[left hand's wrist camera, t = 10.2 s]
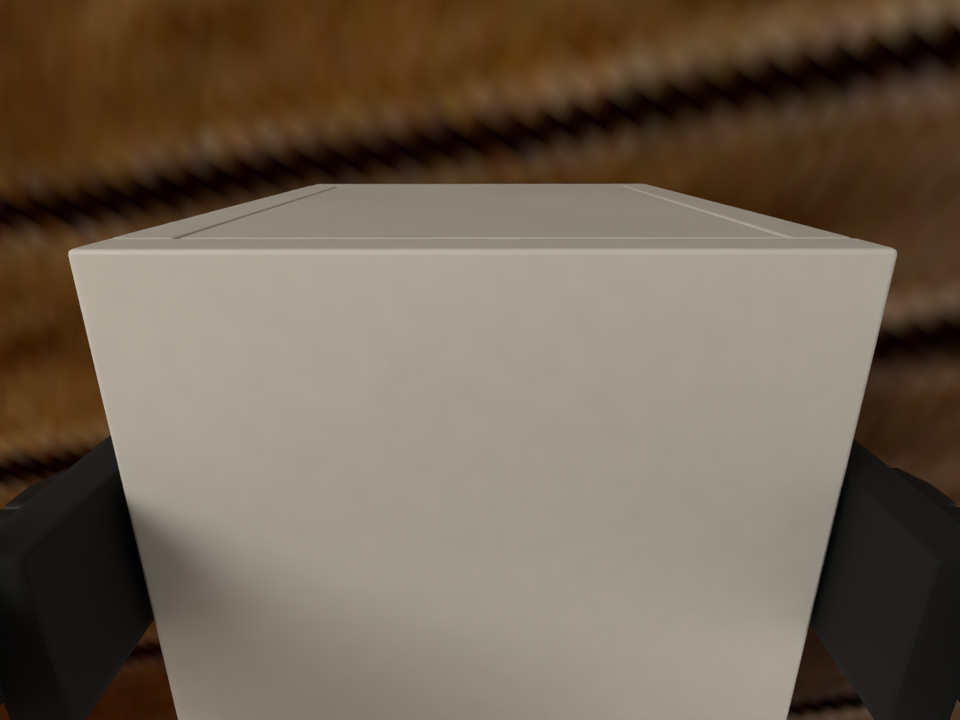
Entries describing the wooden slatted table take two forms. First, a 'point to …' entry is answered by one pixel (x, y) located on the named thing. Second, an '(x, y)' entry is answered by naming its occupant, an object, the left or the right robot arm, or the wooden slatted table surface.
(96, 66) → the wooden slatted table surface
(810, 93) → the wooden slatted table surface
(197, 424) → the cabinet
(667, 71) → the wooden slatted table surface
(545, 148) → the wooden slatted table surface
